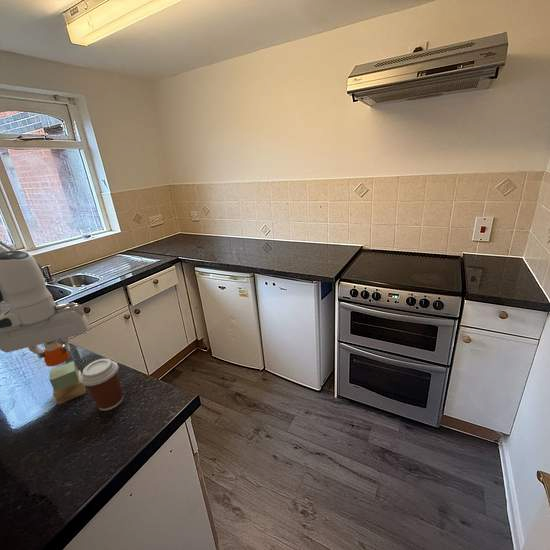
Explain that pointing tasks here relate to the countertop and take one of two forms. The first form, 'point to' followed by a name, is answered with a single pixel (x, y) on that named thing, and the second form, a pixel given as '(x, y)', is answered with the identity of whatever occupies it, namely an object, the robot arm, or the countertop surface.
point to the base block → (70, 391)
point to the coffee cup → (103, 383)
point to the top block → (64, 376)
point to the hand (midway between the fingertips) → (55, 354)
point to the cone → (54, 354)
